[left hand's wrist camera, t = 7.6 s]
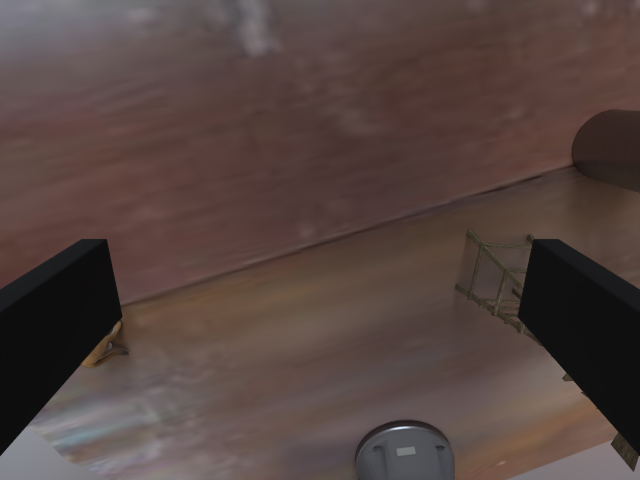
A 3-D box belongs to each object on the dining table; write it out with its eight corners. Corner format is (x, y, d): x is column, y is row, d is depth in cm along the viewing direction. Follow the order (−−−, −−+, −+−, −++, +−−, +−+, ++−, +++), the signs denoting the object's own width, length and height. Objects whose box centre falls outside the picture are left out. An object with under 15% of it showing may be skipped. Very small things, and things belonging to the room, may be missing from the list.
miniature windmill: (535, 234, 50) (816, 420, 22) (518, 293, 53) (745, 525, 24) (464, 229, 49) (654, 410, 21) (451, 289, 52) (603, 517, 24)
